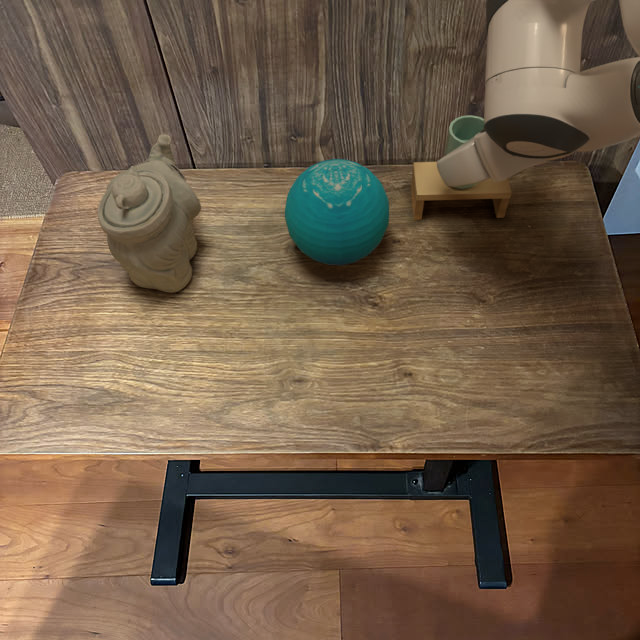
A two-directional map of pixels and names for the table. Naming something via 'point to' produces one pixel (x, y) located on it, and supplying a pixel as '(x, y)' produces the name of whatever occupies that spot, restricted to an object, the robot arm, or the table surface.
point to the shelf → (453, 190)
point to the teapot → (152, 221)
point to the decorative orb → (337, 212)
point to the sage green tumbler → (463, 135)
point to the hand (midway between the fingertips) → (467, 147)
